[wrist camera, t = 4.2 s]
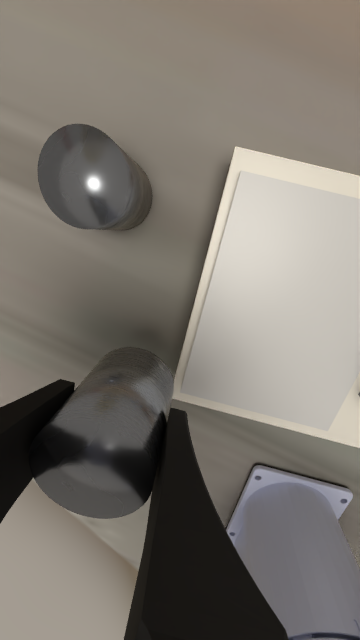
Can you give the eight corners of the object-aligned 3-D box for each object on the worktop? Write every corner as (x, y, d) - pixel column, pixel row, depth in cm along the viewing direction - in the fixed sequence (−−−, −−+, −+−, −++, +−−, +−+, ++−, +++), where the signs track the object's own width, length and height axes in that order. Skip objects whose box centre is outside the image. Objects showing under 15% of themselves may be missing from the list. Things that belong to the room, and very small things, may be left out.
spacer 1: (145, 236, 16) (120, 238, 12) (85, 221, 16) (35, 217, 12) (158, 166, 15) (135, 136, 10) (92, 150, 15) (39, 113, 10)
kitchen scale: (369, 424, 19) (444, 513, 13) (175, 373, 19) (160, 437, 13) (488, 225, 14) (692, 219, 8) (230, 163, 15) (245, 114, 9)
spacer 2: (164, 426, 13) (140, 531, 9) (89, 406, 13) (26, 499, 9) (182, 359, 12) (165, 439, 7) (99, 338, 12) (31, 403, 7)
